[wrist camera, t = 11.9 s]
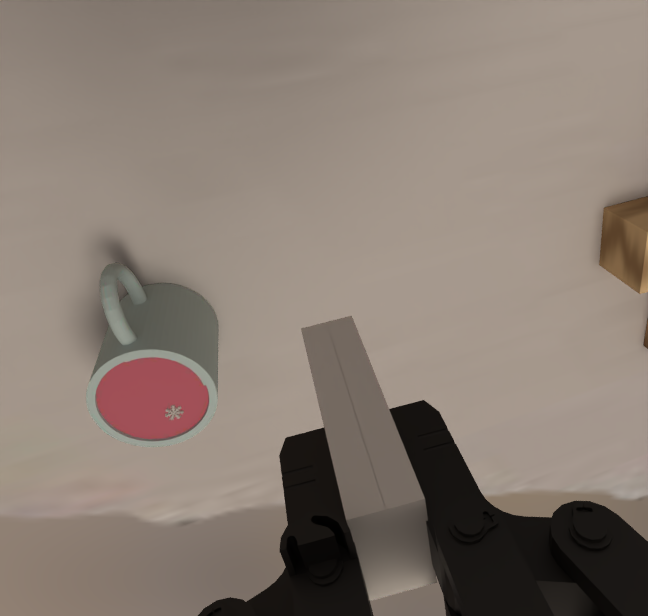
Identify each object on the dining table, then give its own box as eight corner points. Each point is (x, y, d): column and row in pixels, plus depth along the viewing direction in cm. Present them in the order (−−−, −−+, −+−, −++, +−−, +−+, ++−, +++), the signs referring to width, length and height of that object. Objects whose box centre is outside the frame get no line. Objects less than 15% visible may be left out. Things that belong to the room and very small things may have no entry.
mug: (232, 352, 50) (234, 425, 42) (138, 382, 50) (120, 461, 42) (174, 221, 43) (163, 277, 35) (64, 255, 43) (25, 320, 35)
